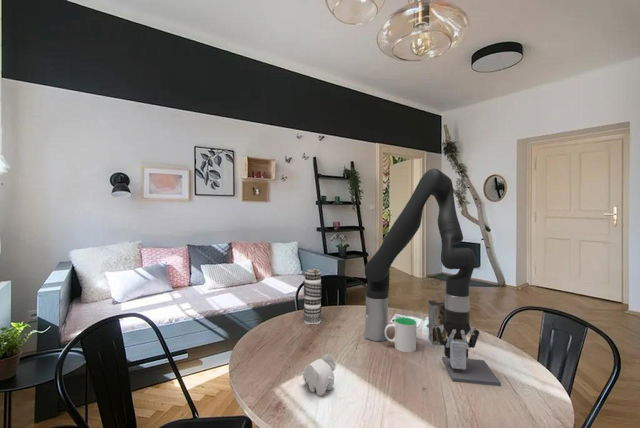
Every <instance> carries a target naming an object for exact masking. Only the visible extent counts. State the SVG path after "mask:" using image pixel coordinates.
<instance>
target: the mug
mask: <svg viewBox="0 0 640 428" xmlns="http://www.w3.org/2000/svg"><path fill="white" fill-rule="evenodd" d="M390 327H392V328H393V329H394V336H393V338H389V336H388V337H387V334H386V331H387V329H388V330H389V328H390ZM385 337H386V338H387V339H386V340H387V341H388V342H391V343H394V348H395V349H396V350H397V351H398V352H399V351H400V352H403V353H413V352H415V351H417V320H415V319H413V318H410V317H405V316H403V317H396V318H395V319H394V323H388V325H387V326H386V328H385Z"/></svg>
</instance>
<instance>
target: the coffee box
mask: <svg viewBox="0 0 640 428" xmlns="http://www.w3.org/2000/svg"><path fill="white" fill-rule="evenodd" d="M444 322H445V300H428V335H427V336H428V340H429V342H430V344H431V345H434V346H442V345H441V344H440V342H439V340H438V336H437V333H436V329H435V325H438V326H441V325H443V324H444ZM441 334H442V338H443V340H444V341H445V339H446V334H447V332H446V330H445V329H443V332H442V333H441Z"/></svg>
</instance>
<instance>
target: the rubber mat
mask: <svg viewBox="0 0 640 428" xmlns="http://www.w3.org/2000/svg"><path fill="white" fill-rule="evenodd" d="M441 360H442V363H443V364H444V366H445V369H446V371H447V373H448V375H449V377H450V379H451V382H455V383H456V382H458V383H464V384H465V383H466V384H477V385H488V386H495V387H496V386H497V387H500V386H502V384H501V383H502V382H501V381H500V379H498V377H497V375H495V373H494V372H493V370H492V369H491V367H490V366H489V365H488V364H487V362H486V361H485V360H484V359H474V358H466V369H455V368H452V366H451V364H450V362H449V360H448V358H447V356H441Z"/></svg>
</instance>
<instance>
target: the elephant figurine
mask: <svg viewBox="0 0 640 428" xmlns="http://www.w3.org/2000/svg"><path fill="white" fill-rule="evenodd" d="M336 368H337V364H336V362H335V360H334V358H333V357H332V356H331V354H328V353H326V354H323V355H322V356H321V358H318V359H316V360H314V361H312V362H310V363H309V364H307V365H305V367H304V371H303V372H302V373H299V374H298V376H299V377H300V376H302V378H303V379H302V380H303V381H304V383H306V384H308V387H309V388H308V389H309V392H312V393H315V392H316V395H317V396H318V397H322V396H324V395H325V393H326V391H330V390H332V389H333V387H334V384H335V374H334V371H335V370H336Z"/></svg>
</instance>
